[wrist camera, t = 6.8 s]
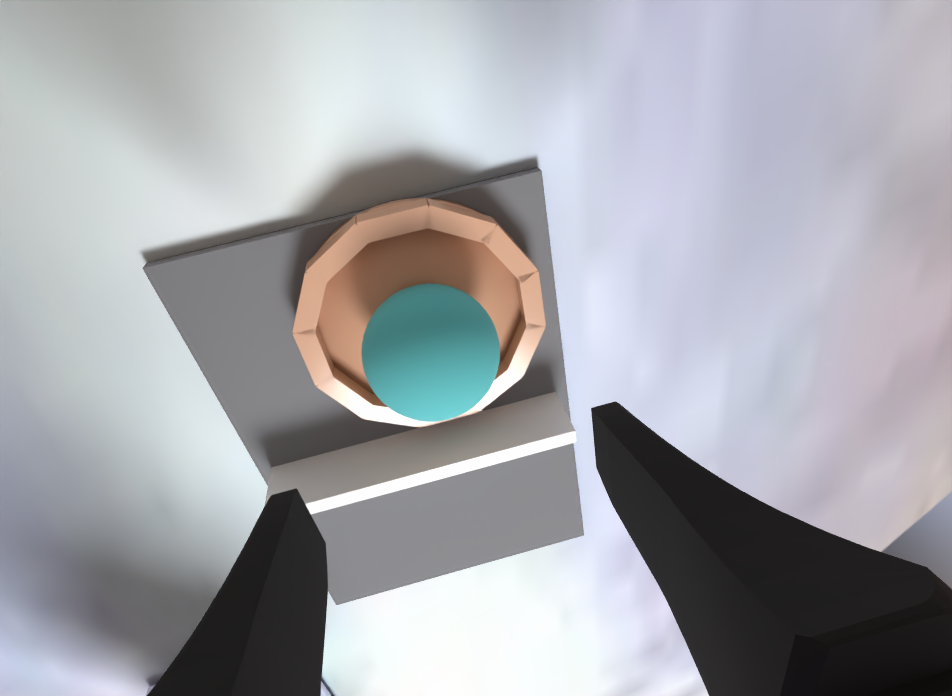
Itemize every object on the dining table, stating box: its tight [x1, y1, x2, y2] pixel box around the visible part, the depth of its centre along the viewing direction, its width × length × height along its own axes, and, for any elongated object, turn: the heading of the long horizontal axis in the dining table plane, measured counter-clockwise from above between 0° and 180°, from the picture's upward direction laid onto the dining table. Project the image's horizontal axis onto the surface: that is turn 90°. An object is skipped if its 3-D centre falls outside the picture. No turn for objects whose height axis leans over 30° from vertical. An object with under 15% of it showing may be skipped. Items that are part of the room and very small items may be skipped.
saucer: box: [292, 198, 546, 428], centre depth 20 cm, size 8×8×1 cm
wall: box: [265, 392, 576, 514], centre depth 22 cm, size 1×12×2 cm, turn 100°
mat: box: [143, 168, 584, 605], centre depth 23 cm, size 19×13×1 cm
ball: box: [361, 283, 500, 422], centre depth 18 cm, size 4×4×4 cm
